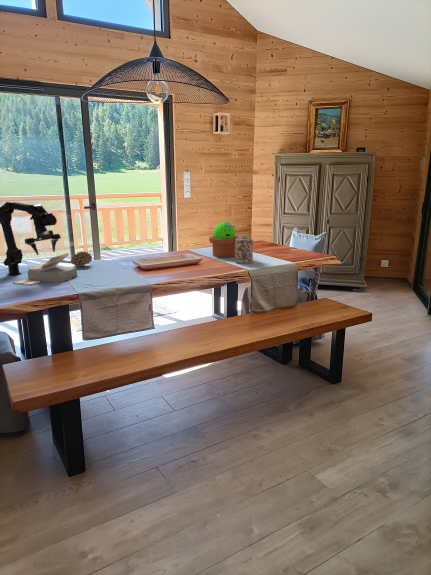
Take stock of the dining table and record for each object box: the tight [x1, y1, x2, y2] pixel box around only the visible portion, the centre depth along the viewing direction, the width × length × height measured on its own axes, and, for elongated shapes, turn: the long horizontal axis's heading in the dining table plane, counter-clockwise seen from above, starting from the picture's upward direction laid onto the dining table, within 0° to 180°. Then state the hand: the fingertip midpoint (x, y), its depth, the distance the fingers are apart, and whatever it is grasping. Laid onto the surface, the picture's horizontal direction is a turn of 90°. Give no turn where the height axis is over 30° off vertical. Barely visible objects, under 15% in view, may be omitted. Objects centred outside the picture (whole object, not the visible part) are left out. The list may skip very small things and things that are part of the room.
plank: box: [12, 278, 42, 286], centre depth 233 cm, size 13×7×1 cm, turn 71°
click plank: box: [38, 252, 70, 271], centre depth 241 cm, size 13×14×1 cm
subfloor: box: [27, 263, 78, 283], centre depth 243 cm, size 22×16×6 cm
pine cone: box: [60, 251, 93, 268], centre depth 270 cm, size 22×10×10 cm, turn 111°
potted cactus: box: [208, 221, 241, 258], centre depth 303 cm, size 22×22×25 cm
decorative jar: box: [234, 234, 254, 264], centre depth 283 cm, size 12×12×18 cm
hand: (46, 253), depth 240 cm, fingers open, 9 cm apart
